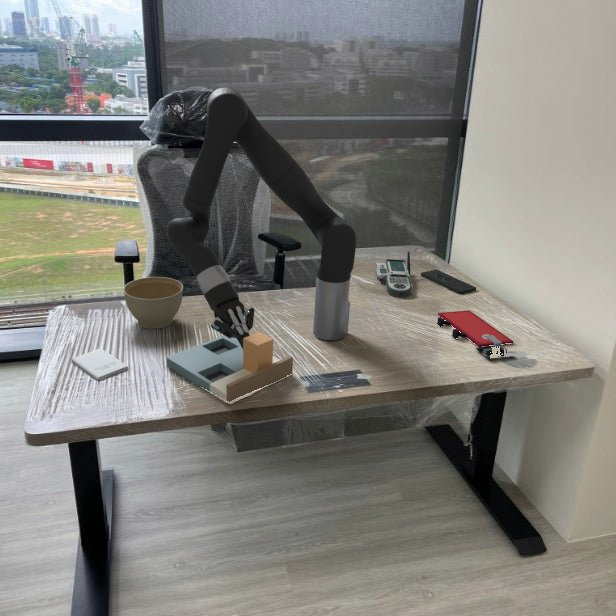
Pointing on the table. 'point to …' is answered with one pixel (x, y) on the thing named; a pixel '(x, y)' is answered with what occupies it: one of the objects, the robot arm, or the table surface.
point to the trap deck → (225, 368)
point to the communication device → (395, 276)
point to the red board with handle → (474, 330)
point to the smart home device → (448, 282)
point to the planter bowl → (153, 300)
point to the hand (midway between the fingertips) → (249, 348)
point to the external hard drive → (99, 364)
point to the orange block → (257, 352)
